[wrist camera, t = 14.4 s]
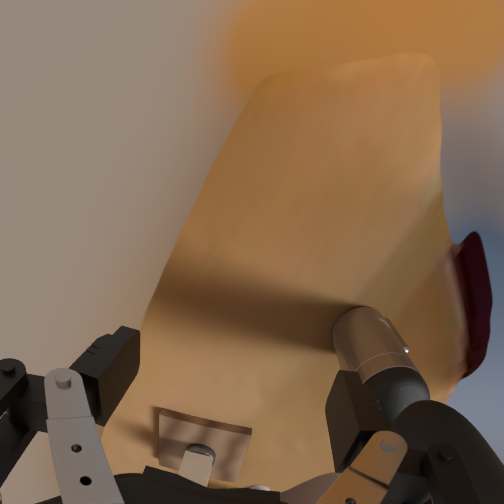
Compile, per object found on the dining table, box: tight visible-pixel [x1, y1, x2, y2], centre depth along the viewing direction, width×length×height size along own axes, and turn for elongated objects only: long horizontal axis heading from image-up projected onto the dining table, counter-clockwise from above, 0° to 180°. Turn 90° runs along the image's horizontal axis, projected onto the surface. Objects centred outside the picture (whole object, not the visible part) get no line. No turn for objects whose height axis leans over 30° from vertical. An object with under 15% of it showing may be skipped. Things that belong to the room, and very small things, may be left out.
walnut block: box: [159, 408, 252, 483], centre depth 57 cm, size 18×18×2 cm
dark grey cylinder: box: [183, 444, 216, 467], centre depth 52 cm, size 6×6×10 cm
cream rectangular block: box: [178, 451, 213, 487], centre depth 50 cm, size 6×6×9 cm
